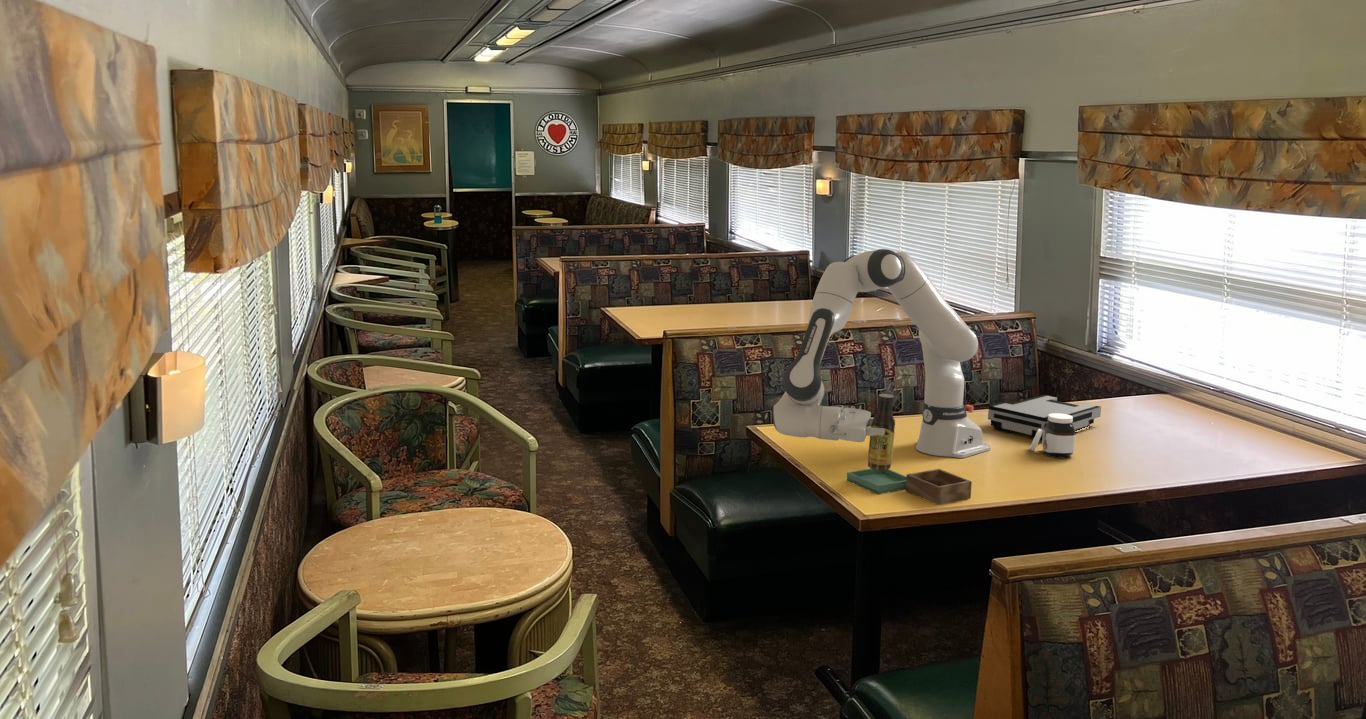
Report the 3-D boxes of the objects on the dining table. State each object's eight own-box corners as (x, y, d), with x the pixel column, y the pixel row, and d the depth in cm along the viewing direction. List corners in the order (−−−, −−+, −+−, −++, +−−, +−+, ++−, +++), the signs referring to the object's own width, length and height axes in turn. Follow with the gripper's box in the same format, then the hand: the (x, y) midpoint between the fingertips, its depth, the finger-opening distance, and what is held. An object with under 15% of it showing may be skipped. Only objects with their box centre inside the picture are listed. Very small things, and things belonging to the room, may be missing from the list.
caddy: (938, 484, 285) (939, 468, 284) (970, 498, 275) (971, 481, 274) (905, 490, 280) (906, 474, 279) (937, 504, 269) (938, 487, 269)
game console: (1099, 427, 347) (1101, 403, 345) (1045, 444, 326) (1048, 418, 325) (1041, 414, 362) (1043, 391, 361) (986, 430, 342) (988, 405, 340)
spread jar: (1077, 459, 311) (1080, 420, 308) (1039, 459, 310) (1042, 420, 307) (1060, 447, 322) (1063, 410, 320) (1023, 447, 321) (1026, 410, 319)
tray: (882, 474, 293) (882, 466, 293) (913, 487, 282) (914, 479, 282) (846, 480, 288) (847, 472, 287) (877, 494, 277) (878, 486, 276)
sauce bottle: (863, 468, 284) (867, 394, 280) (874, 463, 289) (878, 391, 285) (885, 473, 280) (890, 398, 276) (896, 468, 285) (901, 395, 281)
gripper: (829, 421, 274) (883, 426, 271) (837, 403, 294) (888, 407, 291) (827, 445, 276) (882, 450, 272) (836, 425, 295) (887, 429, 292)
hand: (885, 427), depth 282 cm, fingers closed on sauce bottle, 6 cm apart
